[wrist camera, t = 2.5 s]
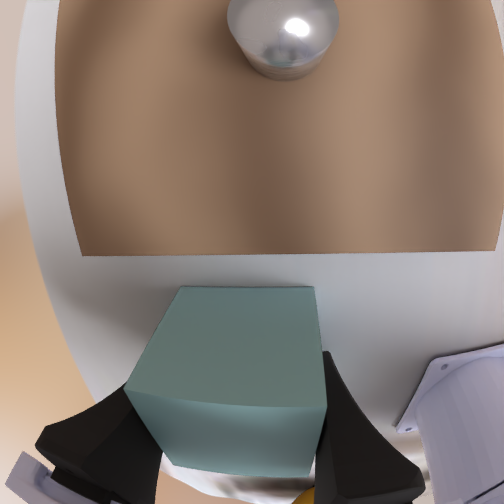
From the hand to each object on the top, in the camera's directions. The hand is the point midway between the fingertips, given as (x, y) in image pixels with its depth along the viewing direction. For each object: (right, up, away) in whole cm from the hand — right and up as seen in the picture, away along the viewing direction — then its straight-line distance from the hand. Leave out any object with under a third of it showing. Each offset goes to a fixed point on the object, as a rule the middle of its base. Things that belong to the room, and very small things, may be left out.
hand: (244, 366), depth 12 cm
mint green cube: (0, +1, +2) cm, 2 cm away
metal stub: (+1, +11, -5) cm, 12 cm away
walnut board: (+1, +12, -4) cm, 12 cm away
